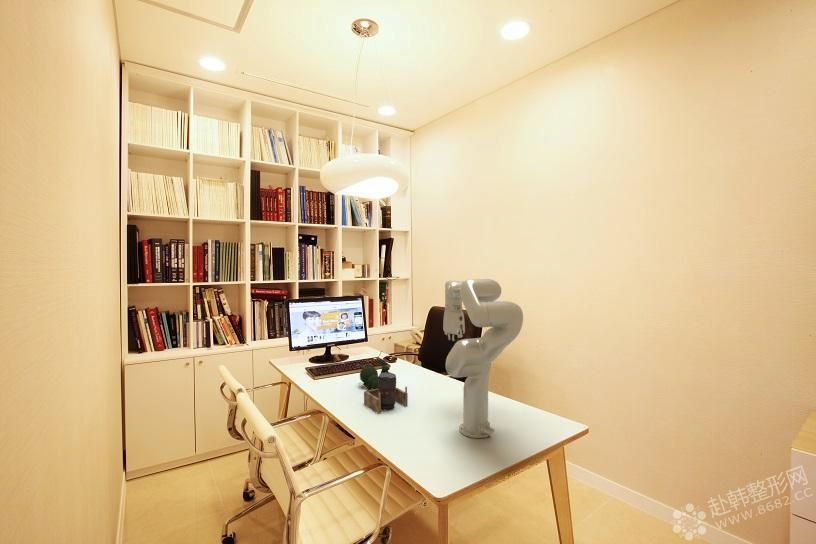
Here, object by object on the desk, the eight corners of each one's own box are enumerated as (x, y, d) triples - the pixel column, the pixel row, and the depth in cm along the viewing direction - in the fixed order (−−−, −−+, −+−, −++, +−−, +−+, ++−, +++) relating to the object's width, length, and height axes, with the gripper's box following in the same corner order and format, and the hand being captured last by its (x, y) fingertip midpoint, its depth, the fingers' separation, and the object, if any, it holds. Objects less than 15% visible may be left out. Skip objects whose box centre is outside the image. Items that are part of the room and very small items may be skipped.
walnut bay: (407, 406, 171) (407, 386, 171) (378, 413, 162) (378, 393, 162) (392, 397, 182) (392, 379, 182) (364, 404, 173) (364, 385, 173)
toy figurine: (393, 397, 187) (368, 380, 207) (395, 360, 185) (370, 346, 205) (377, 401, 181) (353, 383, 201) (379, 363, 179) (354, 349, 199)
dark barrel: (395, 411, 166) (396, 378, 164) (377, 411, 166) (377, 378, 164) (396, 403, 174) (396, 372, 172) (378, 403, 174) (379, 371, 172)
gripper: (471, 309, 163) (471, 351, 164) (448, 306, 176) (448, 344, 176) (458, 310, 159) (458, 353, 160) (436, 307, 171) (436, 347, 172)
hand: (453, 348), depth 168 cm, fingers closed
